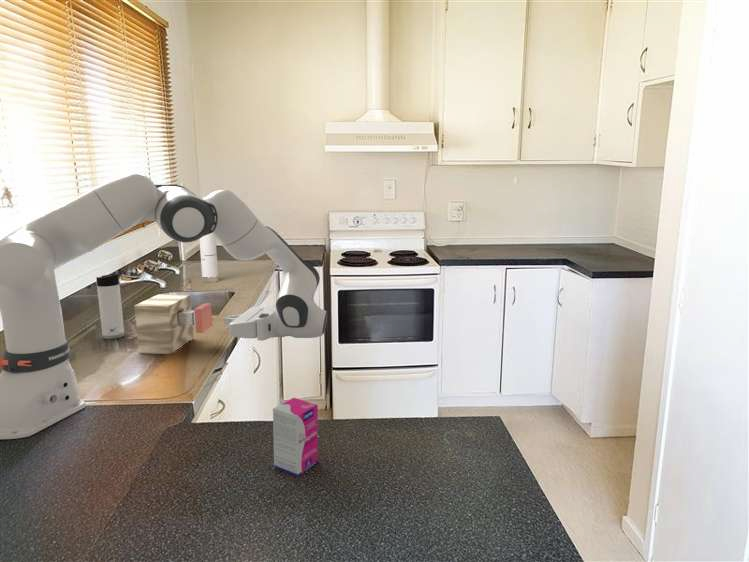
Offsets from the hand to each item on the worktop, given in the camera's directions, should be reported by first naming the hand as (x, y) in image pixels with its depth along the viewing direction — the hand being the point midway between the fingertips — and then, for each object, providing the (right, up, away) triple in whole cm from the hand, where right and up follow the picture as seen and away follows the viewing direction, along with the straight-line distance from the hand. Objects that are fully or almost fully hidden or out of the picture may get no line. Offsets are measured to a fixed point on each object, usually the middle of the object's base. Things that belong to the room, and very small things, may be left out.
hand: (225, 319), depth 160 cm
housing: (-19, -8, +4) cm, 21 cm away
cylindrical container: (-33, +11, +94) cm, 100 cm away
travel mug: (-39, -6, +13) cm, 41 cm away
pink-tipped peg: (-13, -3, +2) cm, 13 cm away
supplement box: (+29, -22, -61) cm, 71 cm away
